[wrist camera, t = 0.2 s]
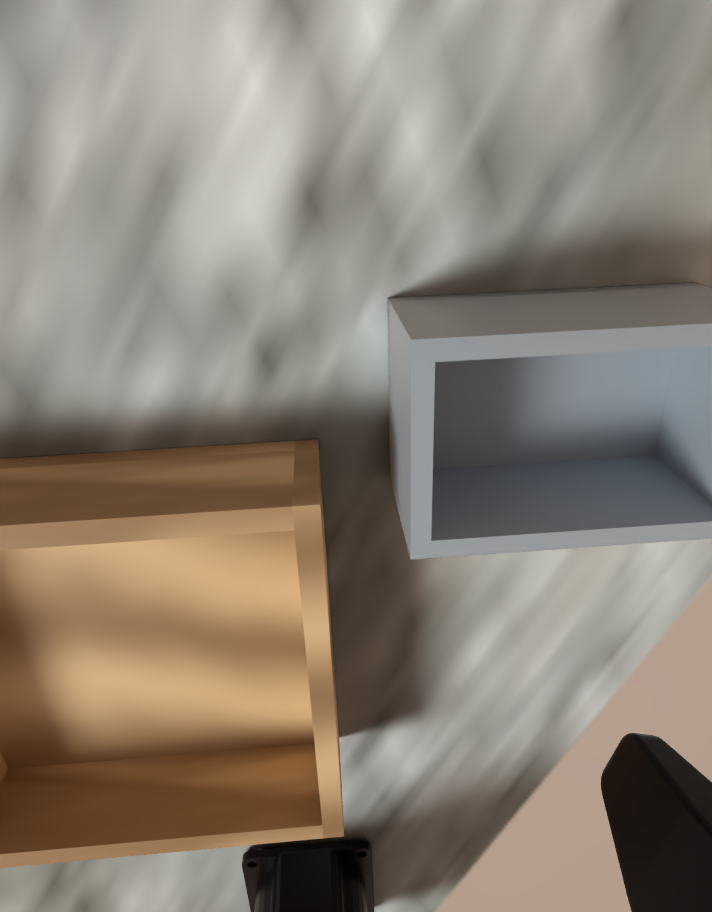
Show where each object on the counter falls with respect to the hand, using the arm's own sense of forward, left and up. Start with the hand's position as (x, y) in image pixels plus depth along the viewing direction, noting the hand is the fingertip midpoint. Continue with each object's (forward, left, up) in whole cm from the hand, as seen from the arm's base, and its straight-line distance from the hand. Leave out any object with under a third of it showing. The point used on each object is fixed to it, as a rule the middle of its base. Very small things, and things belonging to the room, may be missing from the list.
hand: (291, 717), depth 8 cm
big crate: (-10, +7, -14) cm, 19 cm away
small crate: (-1, -8, -14) cm, 16 cm away
